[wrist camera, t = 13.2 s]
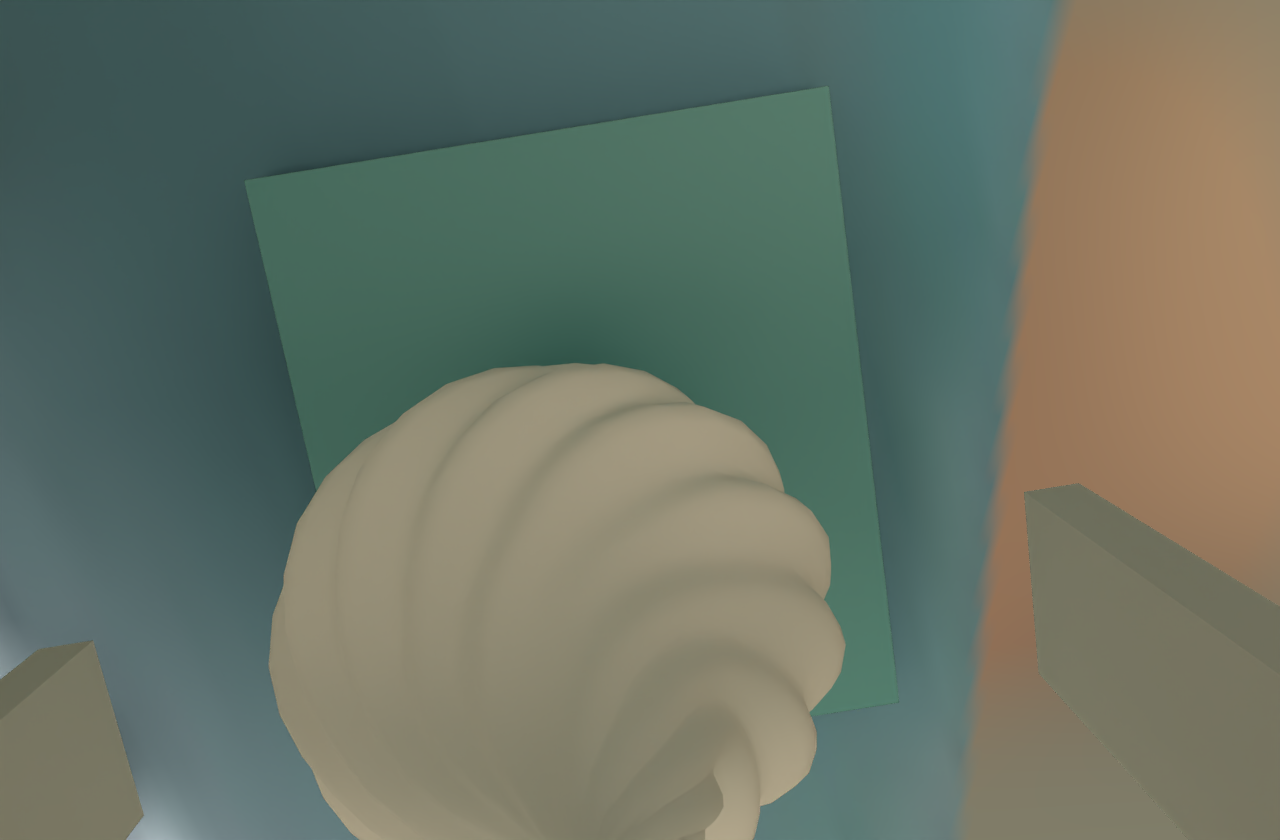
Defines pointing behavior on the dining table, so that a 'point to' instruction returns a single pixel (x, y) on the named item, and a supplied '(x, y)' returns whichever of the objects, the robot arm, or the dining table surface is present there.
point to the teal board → (602, 298)
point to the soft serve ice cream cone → (555, 618)
